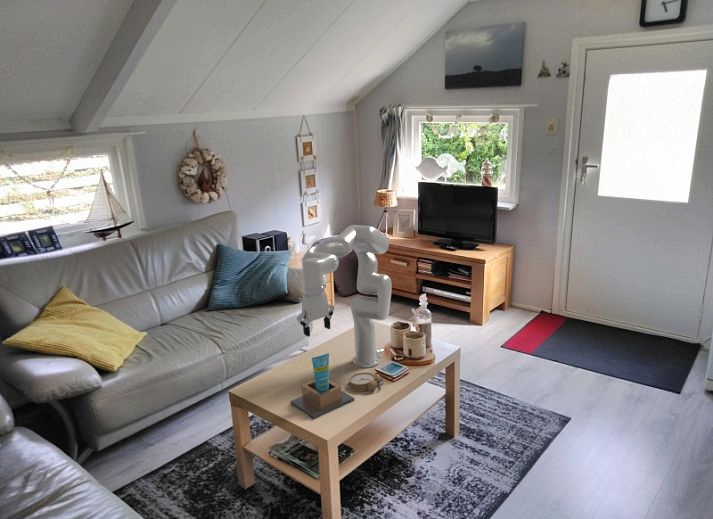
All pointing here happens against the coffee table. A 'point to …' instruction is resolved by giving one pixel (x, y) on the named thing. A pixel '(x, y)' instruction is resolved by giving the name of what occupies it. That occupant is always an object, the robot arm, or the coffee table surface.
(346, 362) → the coffee table surface
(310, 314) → the robot arm
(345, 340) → the coffee table surface
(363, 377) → the alarm clock
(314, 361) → the tube
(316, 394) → the wooden box on base
